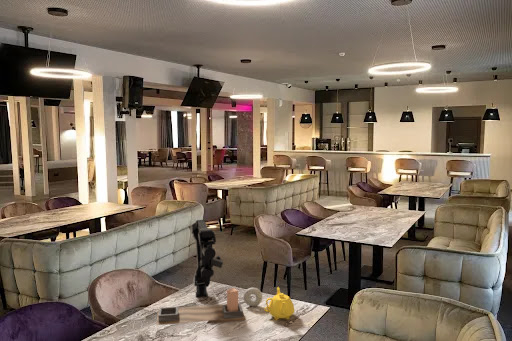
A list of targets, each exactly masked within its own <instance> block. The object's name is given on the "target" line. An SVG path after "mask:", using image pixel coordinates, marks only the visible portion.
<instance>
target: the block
mask: <svg viewBox="0 0 512 341" xmlns="http://www.w3.org/2000/svg"><path fill="white" fill-rule="evenodd" d="M226 304H227V312H230V311H238V304H239V290H238V289H236V288H235V287H232V288H228V289H227V290H226Z"/></svg>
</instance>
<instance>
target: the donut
mask: <svg viewBox="0 0 512 341" xmlns="http://www.w3.org/2000/svg"><path fill="white" fill-rule="evenodd" d="M251 295H254V296H255V298H254V299H252V298H251ZM242 298H243V301H244V303H245V304H246V305H247V306H250V307H256V306H259V305H260V304H261V303H262V301H263V293H262V291H261V290H260V289H259V288H257V287H249V288H247V289H245V291H244V293H243V297H242Z"/></svg>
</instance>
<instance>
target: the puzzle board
mask: <svg viewBox="0 0 512 341" xmlns="http://www.w3.org/2000/svg"><path fill="white" fill-rule="evenodd" d="M206 321H207V322H206ZM193 322H194V323H195V322H196V323H197V322H205V324H209V325H210V324H219V323H233V322H234V323H235V322H246V317H245V314H244V311H243V307H242V304H241V303H238V311H230V312H227V303H226V304H214V305H200V306H199V305H198V306H197V305H196V306H185V307H183V306H181V307H179V306H170V307H166V306H165V307H159V308H158V310H157V317H156V322H155V323H156V324H155V325H157V326H158V325H167V324H170V325H171V324H181V323H184V324H185V323H193Z"/></svg>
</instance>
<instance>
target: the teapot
mask: <svg viewBox="0 0 512 341" xmlns="http://www.w3.org/2000/svg"><path fill="white" fill-rule="evenodd" d="M280 289H281V288H280V287H279V286H277V287H276V294H275V295H273V296H272V297H268V298H267V299H265V305H266V306H265V307H264V312H267V313H269V314H270V315H271V316H272V317H273V319H274V320H275V321H278V320H279V319H285V320H291V317H292V315H293V314H294V313H295V305H294V303H293V301H292V299H291V297H290V296H288V294H285V293H283V292H281V290H280ZM269 301H270V302H269ZM268 302H269V303H268Z"/></svg>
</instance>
